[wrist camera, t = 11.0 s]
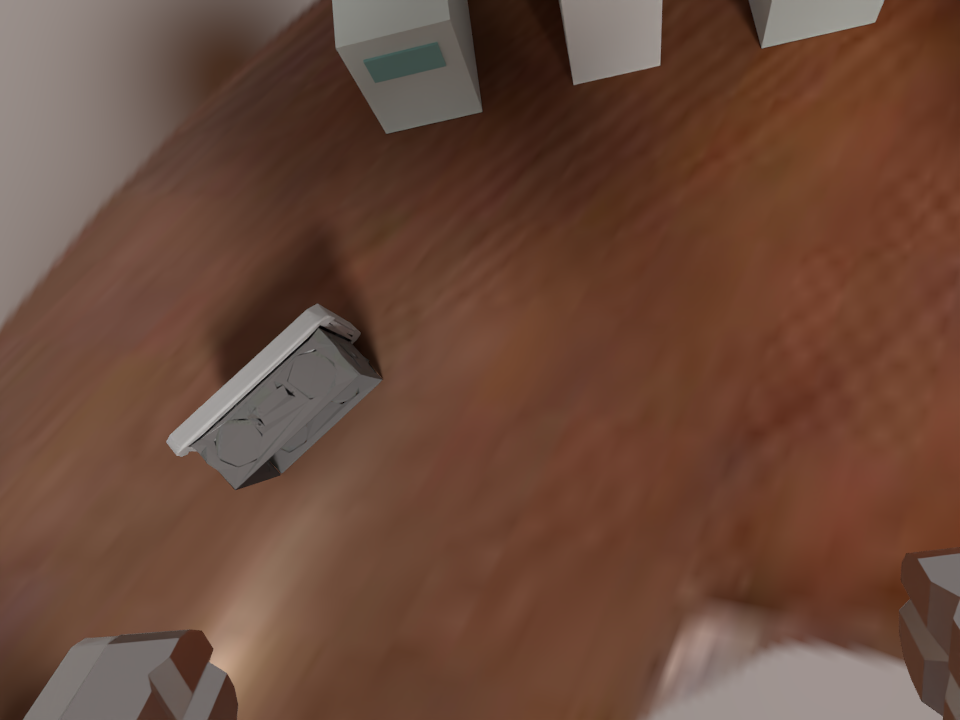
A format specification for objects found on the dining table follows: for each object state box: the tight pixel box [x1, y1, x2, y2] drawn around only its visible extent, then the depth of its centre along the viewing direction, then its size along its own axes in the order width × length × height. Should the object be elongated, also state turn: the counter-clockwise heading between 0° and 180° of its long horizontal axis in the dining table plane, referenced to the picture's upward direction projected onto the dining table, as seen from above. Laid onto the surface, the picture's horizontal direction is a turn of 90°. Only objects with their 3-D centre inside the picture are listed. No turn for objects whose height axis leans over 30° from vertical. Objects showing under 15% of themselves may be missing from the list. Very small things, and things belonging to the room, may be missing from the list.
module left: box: [332, 0, 483, 134], centre depth 43 cm, size 6×8×8 cm
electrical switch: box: [167, 303, 383, 490], centre depth 38 cm, size 9×5×9 cm, turn 132°
